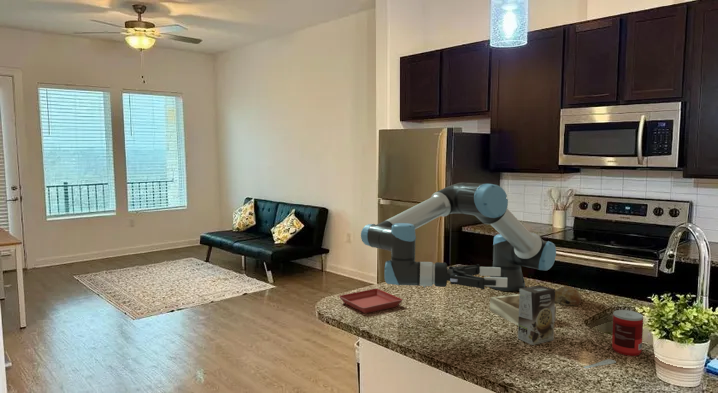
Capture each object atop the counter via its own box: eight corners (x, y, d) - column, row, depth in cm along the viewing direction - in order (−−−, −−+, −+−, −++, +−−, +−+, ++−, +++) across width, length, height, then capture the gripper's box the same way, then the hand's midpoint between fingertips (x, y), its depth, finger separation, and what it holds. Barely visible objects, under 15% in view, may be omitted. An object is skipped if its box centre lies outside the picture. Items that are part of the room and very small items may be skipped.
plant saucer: (363, 316, 175) (363, 307, 175) (338, 303, 190) (338, 295, 190) (403, 308, 185) (403, 299, 185) (376, 296, 200) (376, 288, 200)
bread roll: (552, 311, 190) (553, 296, 186) (553, 294, 198) (553, 278, 194) (580, 314, 186) (581, 298, 182) (580, 296, 194) (581, 281, 191)
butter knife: (619, 362, 135) (610, 358, 138) (554, 379, 125) (545, 374, 128) (619, 363, 135) (609, 359, 138) (553, 380, 125) (545, 376, 128)
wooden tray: (524, 306, 185) (524, 293, 184) (555, 321, 169) (556, 306, 168) (489, 310, 180) (489, 297, 179) (519, 326, 164) (519, 311, 163)
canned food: (634, 346, 147) (635, 310, 146) (646, 357, 139) (648, 319, 138) (607, 345, 148) (608, 309, 147) (618, 356, 140) (620, 318, 139)
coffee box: (533, 345, 147) (534, 293, 146) (517, 338, 153) (518, 287, 151) (554, 340, 151) (556, 289, 150) (538, 333, 157) (539, 284, 156)
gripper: (433, 276, 167) (497, 279, 164) (434, 297, 143) (509, 300, 140) (433, 254, 167) (498, 256, 164) (434, 271, 142) (510, 274, 139)
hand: (503, 276), depth 152 cm, fingers open, 13 cm apart
